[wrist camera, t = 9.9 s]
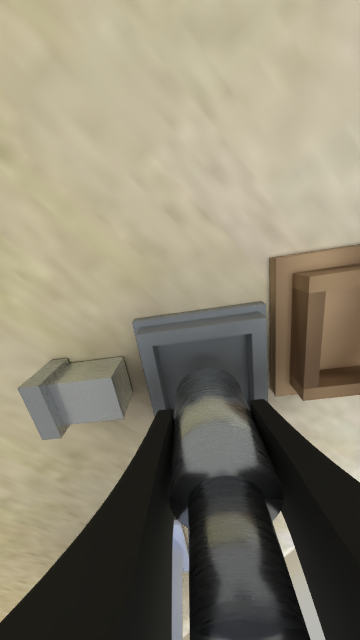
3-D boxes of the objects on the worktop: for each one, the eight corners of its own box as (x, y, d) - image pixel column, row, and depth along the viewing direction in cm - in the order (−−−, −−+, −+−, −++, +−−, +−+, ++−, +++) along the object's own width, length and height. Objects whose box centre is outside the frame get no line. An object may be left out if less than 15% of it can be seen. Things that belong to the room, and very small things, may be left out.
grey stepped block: (68, 404, 15) (42, 440, 12) (51, 360, 14) (17, 388, 11) (134, 397, 15) (122, 432, 12) (121, 351, 14) (105, 377, 11)
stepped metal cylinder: (180, 424, 12) (175, 683, 5) (170, 371, 11) (144, 606, 4) (243, 418, 12) (335, 680, 5) (239, 363, 11) (354, 598, 3)
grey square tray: (157, 417, 16) (154, 438, 14) (134, 319, 13) (126, 329, 11) (263, 406, 15) (274, 426, 13) (261, 301, 12) (274, 309, 11)
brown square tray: (270, 388, 15) (286, 414, 12) (269, 257, 12) (290, 259, 9) (405, 373, 14) (448, 398, 12) (439, 232, 11) (505, 227, 9)
